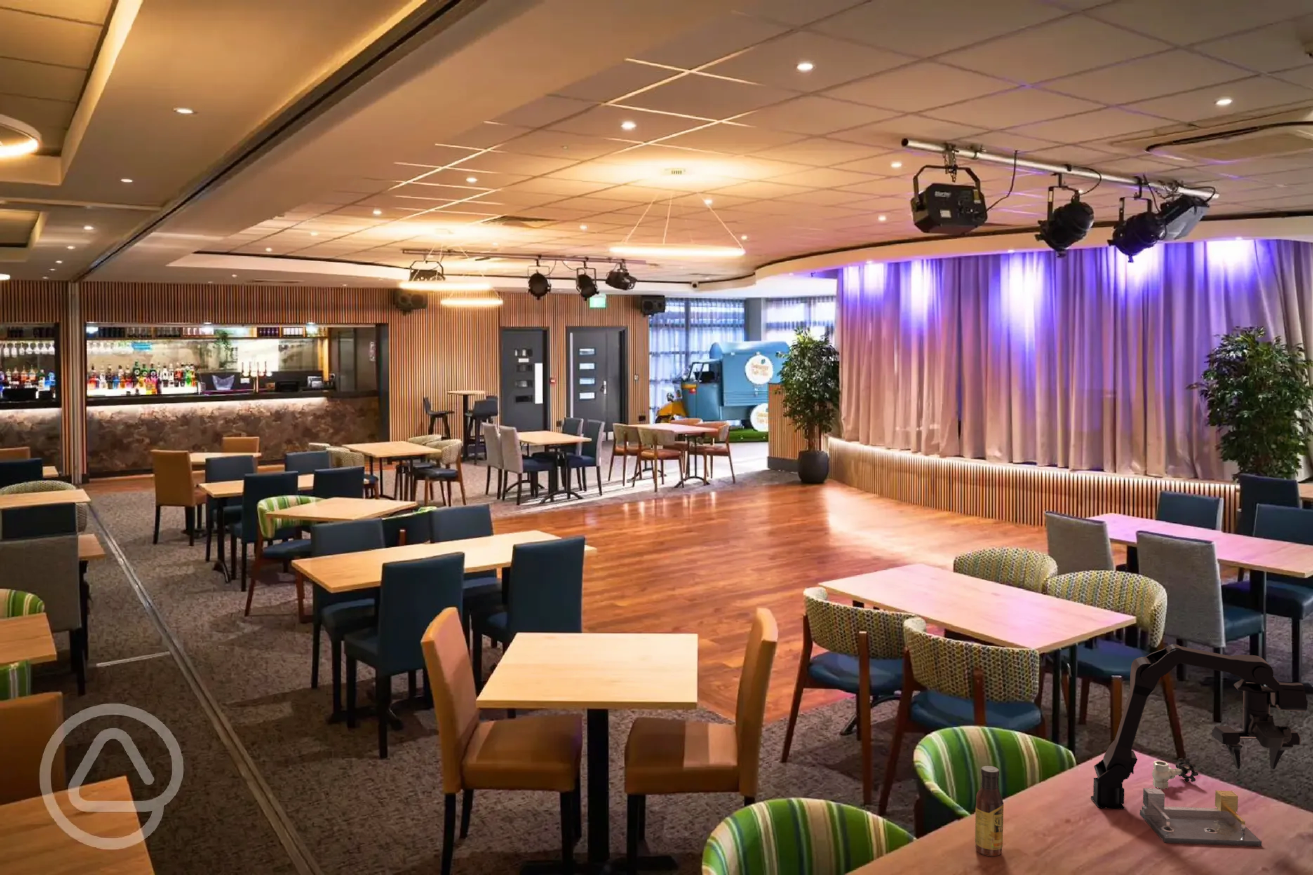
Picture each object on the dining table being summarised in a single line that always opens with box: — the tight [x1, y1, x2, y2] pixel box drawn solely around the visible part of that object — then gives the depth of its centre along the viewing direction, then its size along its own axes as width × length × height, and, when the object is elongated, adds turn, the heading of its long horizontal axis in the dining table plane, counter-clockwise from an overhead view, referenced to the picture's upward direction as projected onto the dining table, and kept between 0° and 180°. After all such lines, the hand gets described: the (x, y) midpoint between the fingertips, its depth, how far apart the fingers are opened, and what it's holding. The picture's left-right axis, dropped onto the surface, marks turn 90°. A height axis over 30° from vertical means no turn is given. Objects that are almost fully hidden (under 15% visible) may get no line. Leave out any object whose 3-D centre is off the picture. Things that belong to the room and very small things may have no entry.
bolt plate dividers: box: [1139, 787, 1263, 847], centre depth 237 cm, size 22×15×7 cm
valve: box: [1151, 757, 1199, 790], centre depth 264 cm, size 7×7×12 cm
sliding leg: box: [1214, 790, 1246, 832], centre depth 238 cm, size 4×10×6 cm, turn 174°
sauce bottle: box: [974, 765, 1004, 857], centre depth 227 cm, size 6×6×20 cm
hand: (1255, 768), depth 241 cm, fingers open, 8 cm apart
